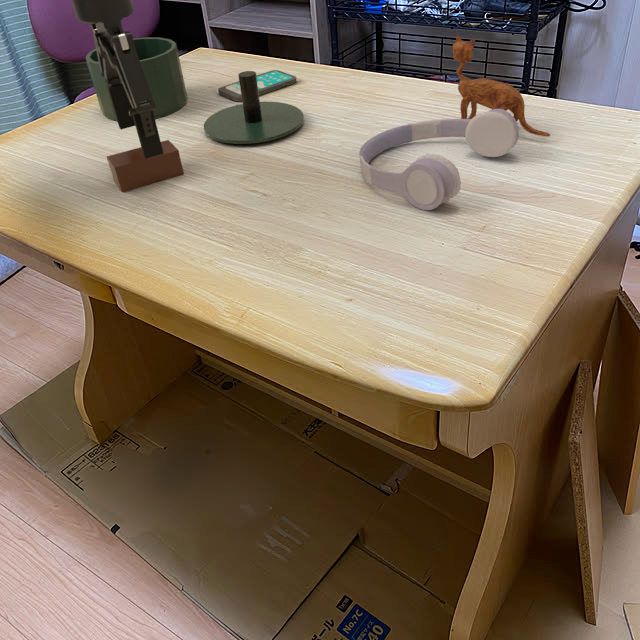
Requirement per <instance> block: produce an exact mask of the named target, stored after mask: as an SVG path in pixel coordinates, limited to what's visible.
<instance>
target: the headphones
mask: <svg viewBox="0 0 640 640" xmlns="http://www.w3.org/2000/svg"><path fill="white" fill-rule="evenodd" d="M513 116H514V115H513V114H512V113H511V112H510V111H508V110H507V111H506V110H503V109H489V110H488V111H484V112H481V113H478V114H476V116H475V117H473V118H472V119H461V118H444V119H430V120H424V121H418V122H413V123H407V124H403V125H399V126H396V127H392V128H390V129H387V130H385V131H382V132H380V133H377V134H376V135H374V136H372V137H370V138H369V139H368V140H367V141H365V142H364V144H362V146H361V147H360V149H359V154H358V156H359V164H360V170H361V175H362V177H363V179H364V180H365V181H366V182H367V183H368V184H369V185H370V186H373V187H375V188H376V189H379V190H382V191H385V192H389V193H394V194H396V195H400V196H401V197H403V198H405V199H406V200H407V201H408V202H409V203H410V204H411V205H412V206H414V207H415V208H417V209H420V210H422V211H432V210H434V209H437V208H438V207H439V206H441V205H443V204H445V203H446V202H448V201H449V200H450V199H453V198H454V197H456V196H457V195H458V194H459V193H460V191H461V188H462V187H461V185H462V181H461V175H460V172H459V169H458V168H457V166H456V165H455V164H454V163H453V162H452V161H451V160H450V159H448V158H447V157H444V156H442V155H439V154H435V153H427V154H424V155H421V156H419V157H418V158H416V160H414V161H413V162H411V163H410V164H409V165H408V167H406V168H405V170H403V171H401V172H389V171H386V170H382V169H379V168H376V167H374V166H372V165H370V164H369V163H370V161H372V159H374V158H375V157H376V156H378V155H380V154H381V153H383V152H384V151H386V150H388V149H390V148H393V147H396V146H400V145H405V144H408V143H409V144H410V143H412V142H416V141H422V140H429V139H438V138H440V139H441V138H465V142H466V145H468V147H469V148H470V149H471V150H472V151H473V152H475V153H476V154H478V155H480V156H482V157H487V158H498V157H502V156H504V155H506V154H508V153H509V152H510V151H511V150H512V149H513V148H514V147H515V146H516V144H517V142H518V140H519V135H520V130H519V124H518V121H517V122H516V120H515V118H514V117H513Z"/></svg>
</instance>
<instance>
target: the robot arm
mask: <svg viewBox="0 0 640 640" xmlns="http://www.w3.org/2000/svg"><path fill="white" fill-rule="evenodd" d="M71 3H72V7H73V10H74V14H75V16H76V19H77V20H78V22H81V24H82V23H83V24H89V25H90V28H91V32H92V37H93V41H94V46H95V49H96V51H97V56H98V61H99V66H100V71H101V76H102V77H103V78H104V79H105V83H106V84H107V85H110V86H109V87H108V90H109V94H110V97H111V101H112V104H113V107H114V111H115V114H116V118H117V121H116V122H117V124H118V128H119V129H120V130H124V129H129V128H131V127H132V128H133V127H135V129H136V133H137V137H138V140H139V144H140V147H141V148H142V151H143V155H144V158H145V159H147V158H151V157H154V156H158V155H161V154H164V153H163V149H162V145H161V142H162V141H161V137H160V133H159V130H158V126H157V123H156V119H155V118H154V114H153V110H155V109H156V104H155V103H154V100H153V97H152V94H151V92H150V89H149V86H148V83H147V80H146V77H145V75H144V72H143V69H142V66H141V63H140V60H139V58H138V55H137V52H136V49H135V45H134V42H133V39H134V36H133V33H131V31H130V30H129V31H128V30H125V29H124V27H123V26H124V25H123V24H122V20H123V19H124V18H128V17H130V16H131V15H133V13H134V11H135V9H134V4H133V0H71ZM120 82H122V83H121V84H120ZM141 101H145V102H144V103H140V102H141ZM139 103H140V104H139Z"/></svg>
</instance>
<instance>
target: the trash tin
mask: <svg viewBox="0 0 640 640" xmlns="http://www.w3.org/2000/svg"><path fill="white" fill-rule="evenodd" d="M133 42H134V45H135V49H136V52H137V55H138V58H139V60H140V63H141V66H142V69H143V72H144V75H145V77H146V80H147V83H148V86H149V89H150V92H151V94H152V97H153V100H154V103H155V104H156V109H155V110H153V114H154V118H155V120H156V119H160V118H163V117H166V116H169V115H172V114H173V113H176V112H178V111H179V110H181V109H182V108H184V107H185V106H186V104H187V102H188V94H187V88H186V83H185V78H184V75H183V74H184V73H183V70H182V65H181V59H180V55H179V50H178V45H177V42H175V41H173V40H172V39H170V38H164V37H136V38H133ZM85 61H86V64H87V68H88V71H89V75H90V78H91V82H92V85H93V88H94V90H95V94H96V98H97V101H98V102H97V103H98V105H99V108H100V111H101V112H102V115H103V116H104V117H105V118H106V119H108V120H110V121H115V122H118V121H117V118H116V114H115V111H114V107H113V104H112V101H111V97H110V94H109V90H108V87H109V86H110V85H107V84H106V83H105V79H104V78H103V77H102V76H101V71H100V66H99V61H98V56H97V51H96V48H94V49H92V50H90V51H89V52H88V53H87V54H86V56H85ZM121 83H122V82H120V84H121ZM144 102H145V101H141V102H140V103H144ZM140 103H139V104H140Z"/></svg>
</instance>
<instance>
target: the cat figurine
mask: <svg viewBox="0 0 640 640" xmlns="http://www.w3.org/2000/svg"><path fill="white" fill-rule="evenodd" d="M475 43H476V37H472V38H471V39H470V40H469V41H463V40H462V38H461V36H459V34H457V35H456V36H455V42H454V43H452V53H453V54H452V55H453V60H454V61H456V62H459V63H460V65H459V66H458V67H457V69H456V71H455V72H456V75H457V76H458V78H459V81H458V83H457V84H458V85H457V90H458V92H459V94H460V95H461V98H462V99H461V101H460V107H459V108H460V117H461V118H460V119H472V118H473V117H475V116H476V115H477V113H478V112H477V111H478V110H477V109H478V105H480V106H483V107H485V108H488V109H489V110H492V109H503V110H506V111H507V112H508V111H509V112H510V113H511V114H512V116H513V117H514V118H515V120H516V122H517V123H518V121H519V124H520V126H521V127H522V128H523V130H525V131H526V132H527V133H530V134H532V135H536V136H539V137H546V138H547V137H551V134H550V133H549V132H547V131H542V130H538V129H537V128H534V127H532V126H531V125H530V124H528V123H527V120H526V116H525V107H526V105H525V100H524V97H523V96H522V94H521V92H520V91H519V89H517V88H515V87H514V86H512V85H510V84H507V83H503V82H501V81H497V80H495V79H491V78H487V77H486V78H485V77H481V78H476V79H471V78H469V77H467V76H465V75H464V74H463V71H464V69H465V67H466V64H467V63H470V62H472V61H473V56H474V50H475V49H474V47H475ZM469 106H470V107H471V112H470V114H469V115H468V109H469Z"/></svg>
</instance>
